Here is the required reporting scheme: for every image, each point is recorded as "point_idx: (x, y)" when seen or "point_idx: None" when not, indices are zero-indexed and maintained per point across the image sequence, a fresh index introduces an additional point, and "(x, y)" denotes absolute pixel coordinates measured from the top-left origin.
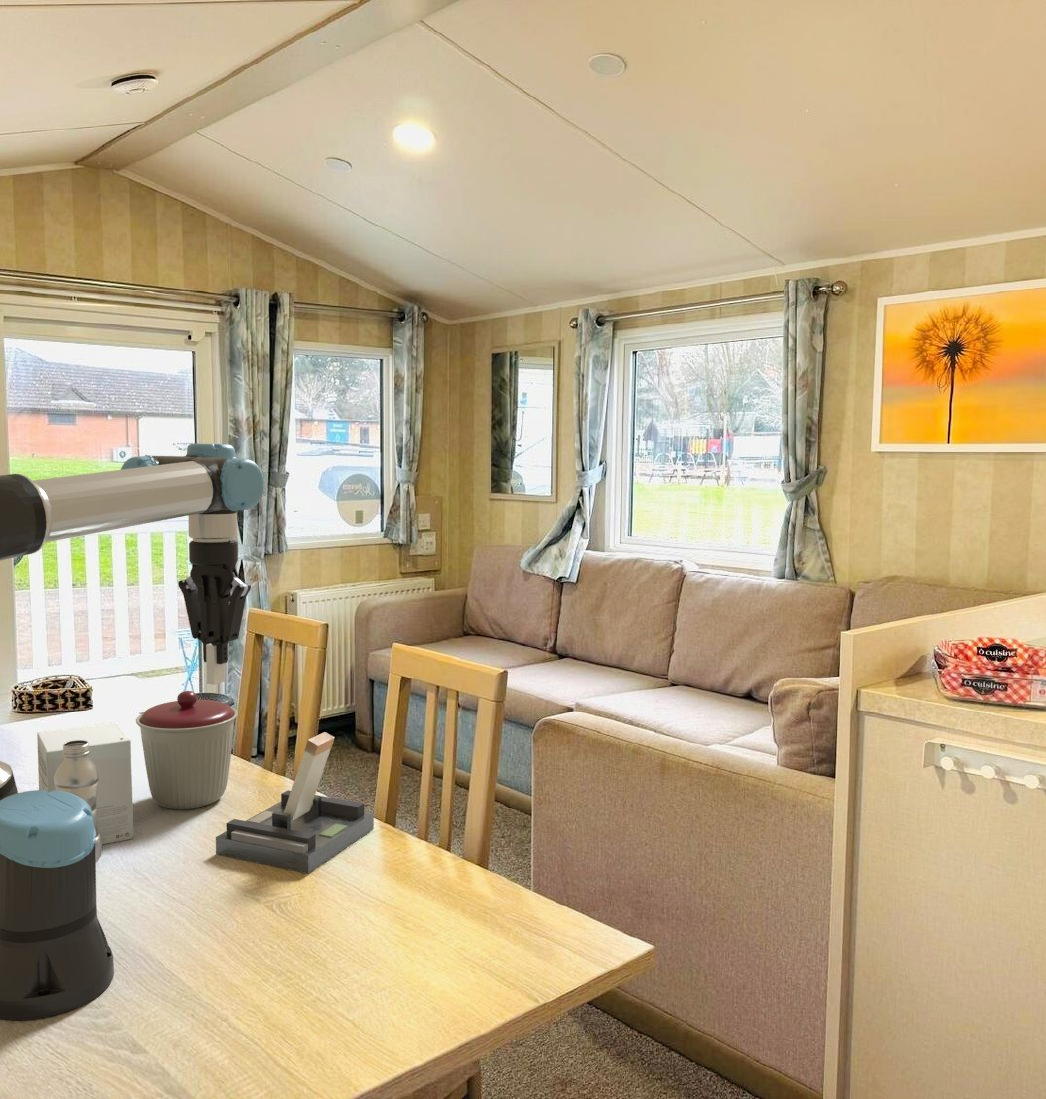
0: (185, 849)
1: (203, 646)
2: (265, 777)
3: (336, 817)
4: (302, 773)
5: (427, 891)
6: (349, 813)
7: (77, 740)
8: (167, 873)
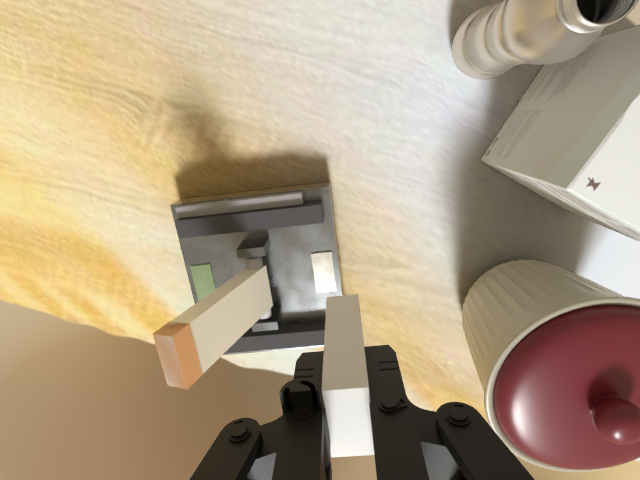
0: (381, 172)
1: (402, 390)
2: None
3: None
4: (209, 300)
5: (30, 233)
6: None
7: (625, 13)
8: (341, 99)
